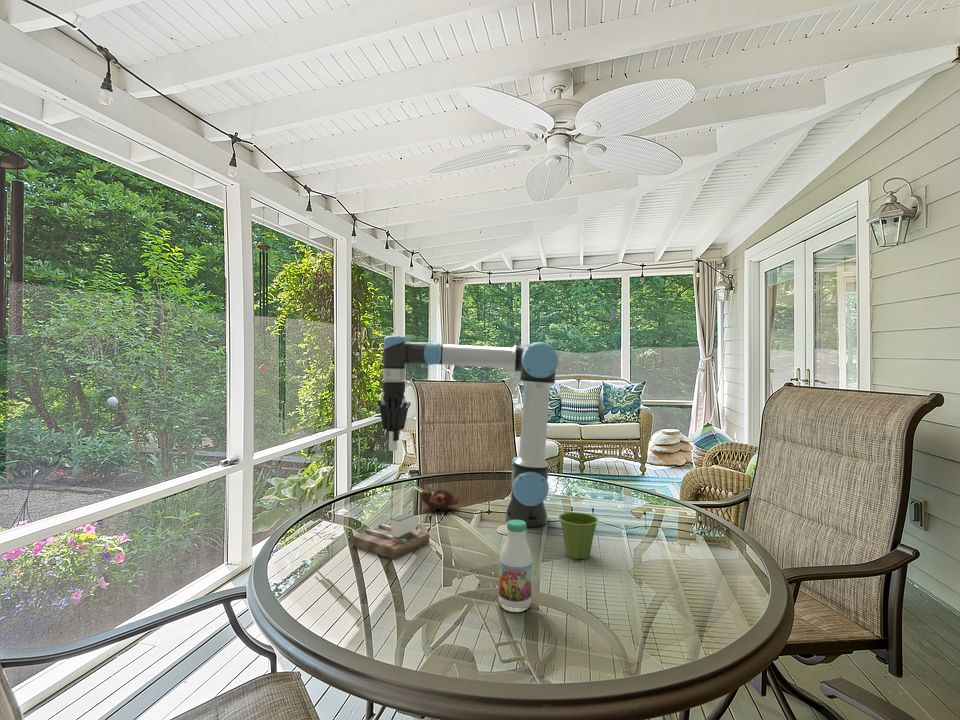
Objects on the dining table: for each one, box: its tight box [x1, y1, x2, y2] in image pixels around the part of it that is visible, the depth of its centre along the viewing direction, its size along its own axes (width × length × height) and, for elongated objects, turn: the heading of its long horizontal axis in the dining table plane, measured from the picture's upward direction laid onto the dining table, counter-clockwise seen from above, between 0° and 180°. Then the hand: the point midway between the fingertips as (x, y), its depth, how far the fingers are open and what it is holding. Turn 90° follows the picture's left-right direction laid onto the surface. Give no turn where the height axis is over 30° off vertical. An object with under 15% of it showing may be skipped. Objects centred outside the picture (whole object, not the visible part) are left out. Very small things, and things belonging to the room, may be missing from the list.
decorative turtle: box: [420, 488, 460, 513], centre depth 190 cm, size 10×15×8 cm, turn 115°
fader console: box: [352, 521, 430, 560], centre depth 153 cm, size 17×16×4 cm
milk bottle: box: [498, 520, 533, 608], centre depth 117 cm, size 8×8×20 cm
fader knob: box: [390, 512, 415, 539], centre depth 151 cm, size 3×7×6 cm, turn 147°
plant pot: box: [558, 511, 599, 560], centre depth 149 cm, size 12×12×11 cm
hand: (393, 450), depth 168 cm, fingers closed
